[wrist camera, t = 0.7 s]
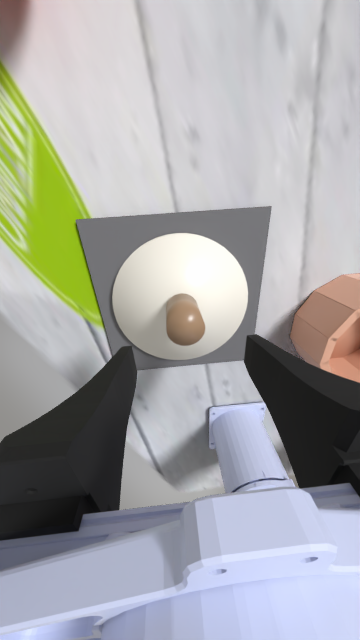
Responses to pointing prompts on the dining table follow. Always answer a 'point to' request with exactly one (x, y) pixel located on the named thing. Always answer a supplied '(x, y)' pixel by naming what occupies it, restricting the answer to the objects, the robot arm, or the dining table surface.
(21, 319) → the dining table surface
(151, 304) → the lid
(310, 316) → the bowl
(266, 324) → the dining table surface
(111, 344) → the mat
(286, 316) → the dining table surface
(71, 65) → the dining table surface
